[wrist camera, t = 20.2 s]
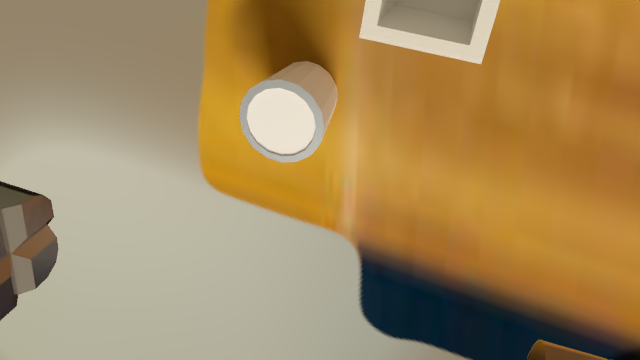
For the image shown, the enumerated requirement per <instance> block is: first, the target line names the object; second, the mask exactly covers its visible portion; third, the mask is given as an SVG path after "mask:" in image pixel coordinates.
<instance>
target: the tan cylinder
mask: <svg viewBox="0 0 640 360" xmlns="http://www.w3.org/2000/svg"><path fill="white" fill-rule="evenodd" d="M337 98H338V93H337V87H336V83H335V81H334V80H333V78H332V76H331V75H330V73H329V72H328V71H326V70H325V69H324V68H323V67H321V66H320V65H318V64H315V63H312V62H309V61H302V62H294V63H292V64H291V65H289V66H287V67H286V68H284V69H282V70H281V71H279V72H277V73H275V74H274V75H272V76H270V77H269V78H267V79H265V80H264V81H262V82H260V83H259V84H257V85H255V86H254V87H252V88H250V89H249V91H248V92H247V94H246V95H245V97H244V98H243V100H242V101H241V108H240V115H239V118H240V122H241V126H242V130H243V134H244V135H245V136H246V138H247V139H248V141H249V142H250V144H251V145H252V147H253V148H255V149H256V150H257V151H259V152H260V153H261V154H262V155H264V156H265V157H267V158H270V159H273V160H276V161H279V162H298V161H300V160H302V159H304V158H306V157H308V156H310V155H312V154H313V152H314V151H315V150H316V149H317V147H318V146H319V145H320V144H321V141H322V139H323V137H324V134H325V132H326V129H327V127H328V124H329V122H330V119H331V117H332V114H333V112H334V109H335V106H336V102H337Z"/></svg>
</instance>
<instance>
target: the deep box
mask: <svg viewBox="0 0 640 360" xmlns="http://www.w3.org/2000/svg"><path fill="white" fill-rule="evenodd" d="M499 3H500V0H366V3H365V8H364V14H363V20H362V25H361V31H360V36H359V38H364V39H368V40H373V41H377V42H382V43H386V44H391V45H396V46H400V47H405V48H409V49H414V50H418V51H423V52H428V53H432V54H437V55H441V56H446V57H450V58H455V59H460V60H464V61H469V62H473V63H478V64H481V63H482V59H483V56H484V53H485V49H486V46H487V43H488V40H489V36H490V33H491V30H492V26H493V23H494V20H495V16H496V13H497V10H498V6H499Z"/></svg>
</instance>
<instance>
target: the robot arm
mask: <svg viewBox="0 0 640 360" xmlns="http://www.w3.org/2000/svg"><path fill="white" fill-rule="evenodd" d="M53 217H54V215H53V209H52V203H51V200H50V199H48V198H47V197H45V196H44V195H41V194H38V193H35V192H32V191H29V190H26V189H23V188H20V187H16V186H13V185H10V184H7V183H4V182H1V181H0V320H1V319H3V318H4V317H5V316H6V315H7V314H8V313H9V312H10V311H11V310H13V309H14V308H15V307H16V306H17V299H18V295H19V294H22V293H25V292H27V291H30V290H33V289H36V288H37V287H38V286H39V285H40V284H41V283H42V282H43V281H44V280H45V279H46V278H47V277H48V276H49V274H50V272H51V270H52V268H53V267H54V265H55V263H56V259H57V253H58V243H57V237H56V236H55V234H54V233H53V232H52V230H51V229H50V227H49V226H48V224H49V222H50V221H51V220H52V219H53ZM527 360H608V359H605V358H602V357H598V356H595V355H591V354H588V353H584V352H581V351H577V350H574V349H570V348H567V347H563V346H560V345H556V344H552V343H549V342H545V341H542V340H538V341H537V342H536V343H535V344H534V345H533V347H532V349H531V351H530V353H529V355H528V357H527Z"/></svg>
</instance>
